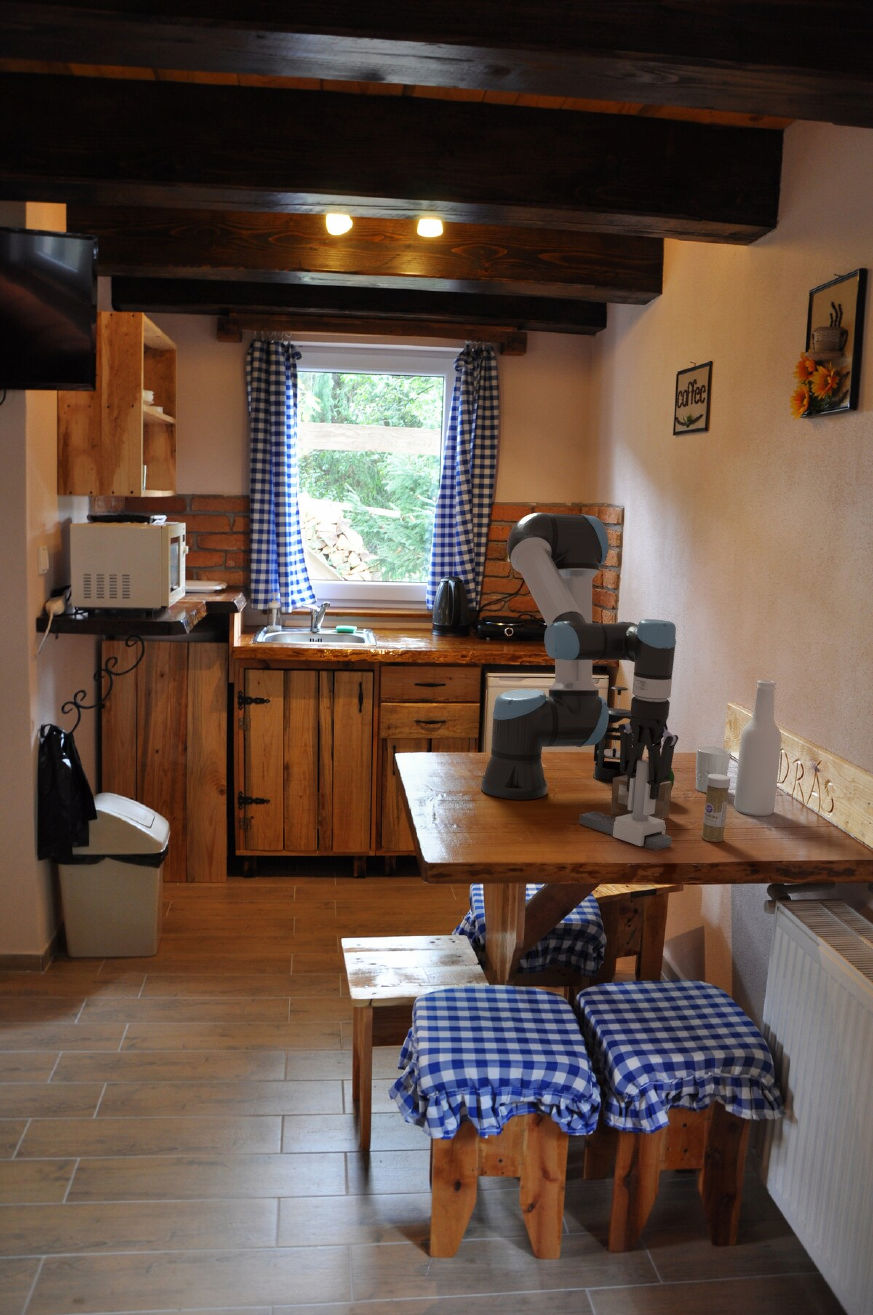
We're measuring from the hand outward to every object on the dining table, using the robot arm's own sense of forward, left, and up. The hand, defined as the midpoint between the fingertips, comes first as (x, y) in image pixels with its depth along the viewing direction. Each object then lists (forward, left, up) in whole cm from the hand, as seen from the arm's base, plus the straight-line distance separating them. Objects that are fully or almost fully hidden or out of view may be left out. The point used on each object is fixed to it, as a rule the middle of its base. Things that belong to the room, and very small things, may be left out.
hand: (640, 811), depth 217 cm
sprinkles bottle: (+8, +14, -6) cm, 17 cm away
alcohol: (+1, +40, -6) cm, 41 cm away
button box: (-11, +14, -6) cm, 19 cm away
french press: (-35, +33, -6) cm, 48 cm away
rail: (-4, 0, -6) cm, 7 cm away
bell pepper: (-17, +27, -6) cm, 32 cm away
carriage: (0, 0, -6) cm, 6 cm away
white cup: (-15, +46, -6) cm, 49 cm away
